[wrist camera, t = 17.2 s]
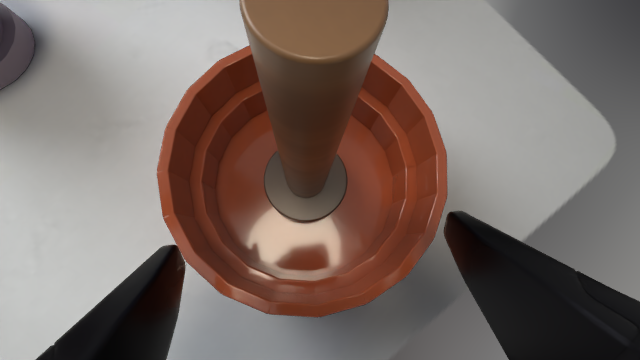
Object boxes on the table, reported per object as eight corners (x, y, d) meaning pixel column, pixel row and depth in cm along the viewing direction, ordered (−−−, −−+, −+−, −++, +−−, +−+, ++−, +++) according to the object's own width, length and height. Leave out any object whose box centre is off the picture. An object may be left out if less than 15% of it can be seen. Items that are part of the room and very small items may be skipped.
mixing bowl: (444, 175, 19) (499, 149, 14) (317, 342, 17) (324, 390, 11) (296, 56, 20) (293, -10, 15) (156, 195, 18) (92, 175, 12)
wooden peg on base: (335, 231, 17) (456, 191, 4) (257, 212, 17) (85, 102, 4) (351, 156, 18) (492, -90, 5) (277, 138, 18) (205, -163, 5)
